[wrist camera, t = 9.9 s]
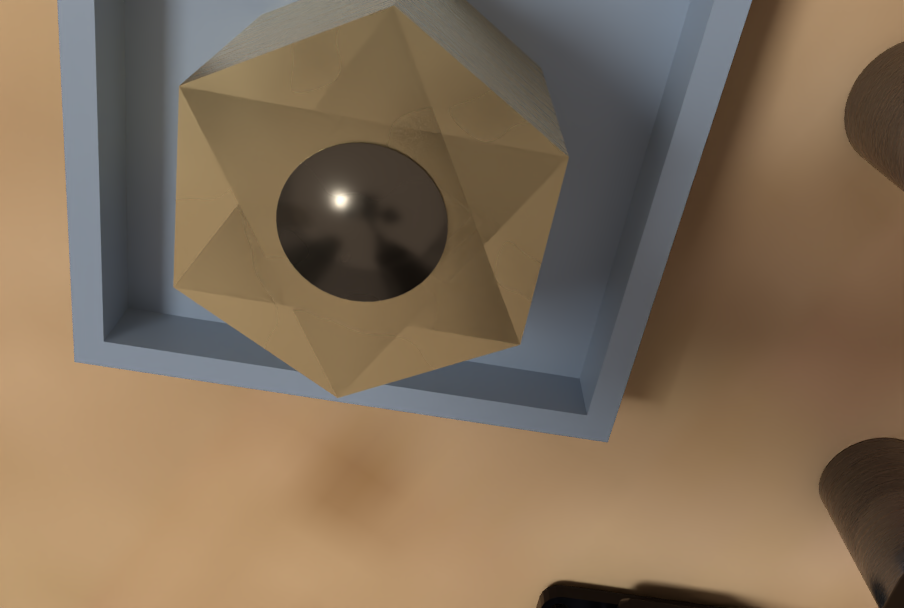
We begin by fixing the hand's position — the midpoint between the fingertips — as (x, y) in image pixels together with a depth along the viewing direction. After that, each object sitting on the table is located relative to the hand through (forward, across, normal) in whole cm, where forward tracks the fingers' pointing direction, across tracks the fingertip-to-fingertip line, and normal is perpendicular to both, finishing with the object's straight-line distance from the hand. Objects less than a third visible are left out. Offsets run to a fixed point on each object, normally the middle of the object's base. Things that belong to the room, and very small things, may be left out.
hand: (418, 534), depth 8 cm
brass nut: (+10, +1, -1) cm, 10 cm away
